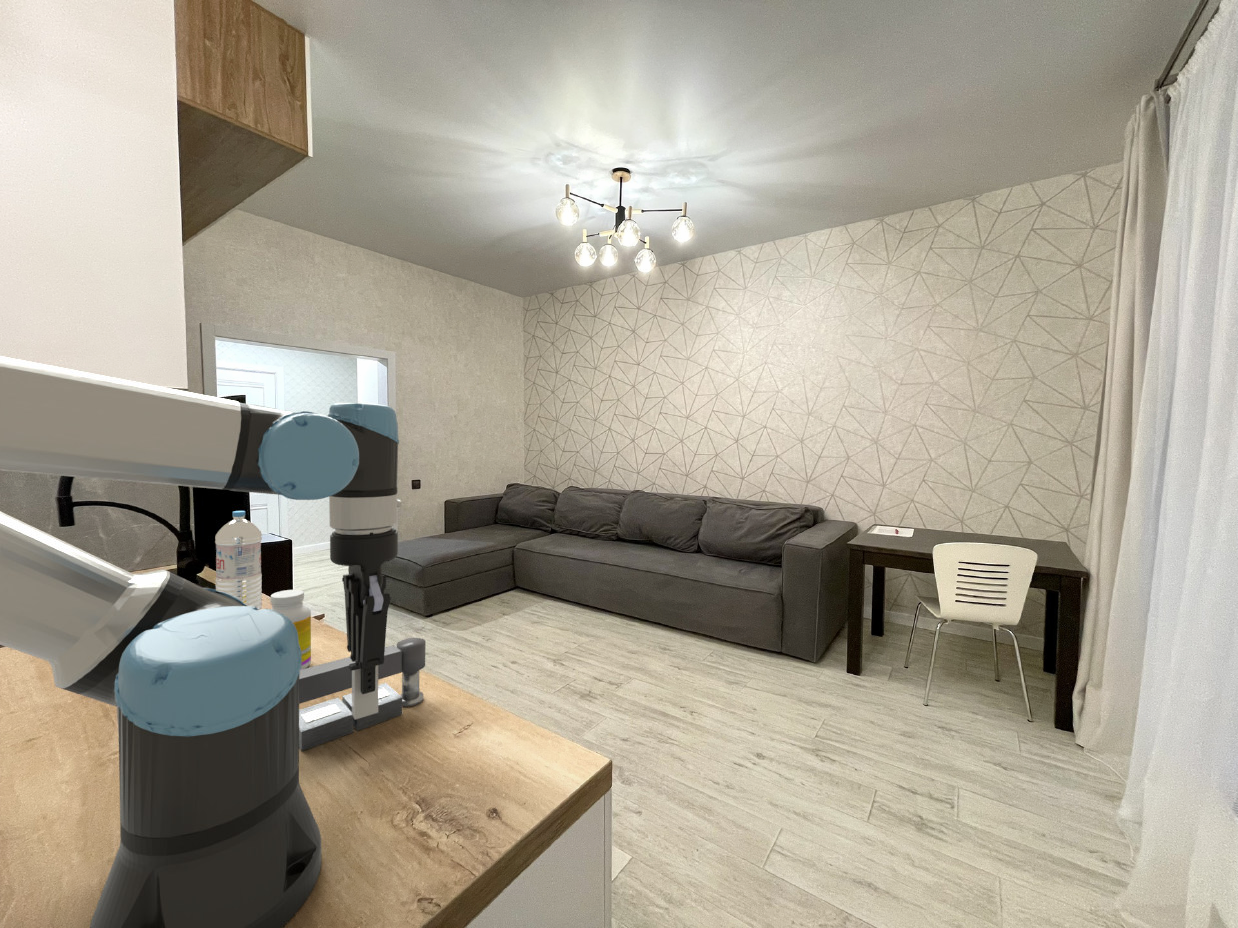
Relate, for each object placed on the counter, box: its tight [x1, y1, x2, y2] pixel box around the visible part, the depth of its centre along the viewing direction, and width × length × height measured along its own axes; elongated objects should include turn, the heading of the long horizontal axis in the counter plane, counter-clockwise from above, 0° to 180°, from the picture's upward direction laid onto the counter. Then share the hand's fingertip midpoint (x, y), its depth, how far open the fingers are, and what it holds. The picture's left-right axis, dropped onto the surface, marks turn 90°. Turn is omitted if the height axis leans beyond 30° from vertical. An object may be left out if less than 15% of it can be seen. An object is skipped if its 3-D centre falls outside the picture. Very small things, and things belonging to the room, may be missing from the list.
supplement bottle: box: [270, 589, 312, 670], centre depth 84 cm, size 7×7×13 cm
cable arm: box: [299, 637, 427, 705], centre depth 71 cm, size 17×4×4 cm, turn 136°
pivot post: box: [399, 670, 424, 708], centre depth 75 cm, size 4×4×5 cm
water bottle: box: [214, 510, 263, 610], centre depth 93 cm, size 7×7×25 cm
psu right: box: [341, 682, 403, 732], centre depth 72 cm, size 6×6×3 cm
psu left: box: [299, 696, 354, 752], centre depth 67 cm, size 6×6×3 cm
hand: (365, 713), depth 64 cm, fingers closed
